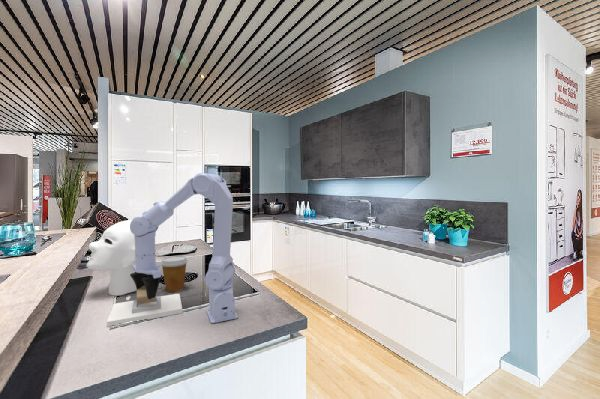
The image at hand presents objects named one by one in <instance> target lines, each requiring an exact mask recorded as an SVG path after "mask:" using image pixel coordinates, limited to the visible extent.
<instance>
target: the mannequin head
mask: <svg viewBox="0 0 600 399" xmlns="http://www.w3.org/2000/svg"><path fill="white" fill-rule="evenodd" d="M132 220H133V219H128V220H122V221H118V222H117V223H114V224H112V225H110V226H109V227H108V228H106V229H105V230H104V231H103V233H102V235H101V237H100V238H99V240H97V241H92V242H90V243H89V245H88V249H89V250H90V251H91V254H90V256H89V260H88V261H87V263H86V267H87V268H88V269H89V270H92V271H98V272H105V271H110V274H109V276H110V277H109V283H108V284H109V286H108V291H107V292H108V295H110V296H115V297H116V296H117V297H118V296H122V295H126V294H129V293H133V292H137V288H136V285H135V283H134V281H133V279H132V277H131V276H130V274H131V273H135V271H133V270H132V265H133V264H135V237H134V234H133V233H132V232H131V230H130V223H131V221H132Z"/></svg>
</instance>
